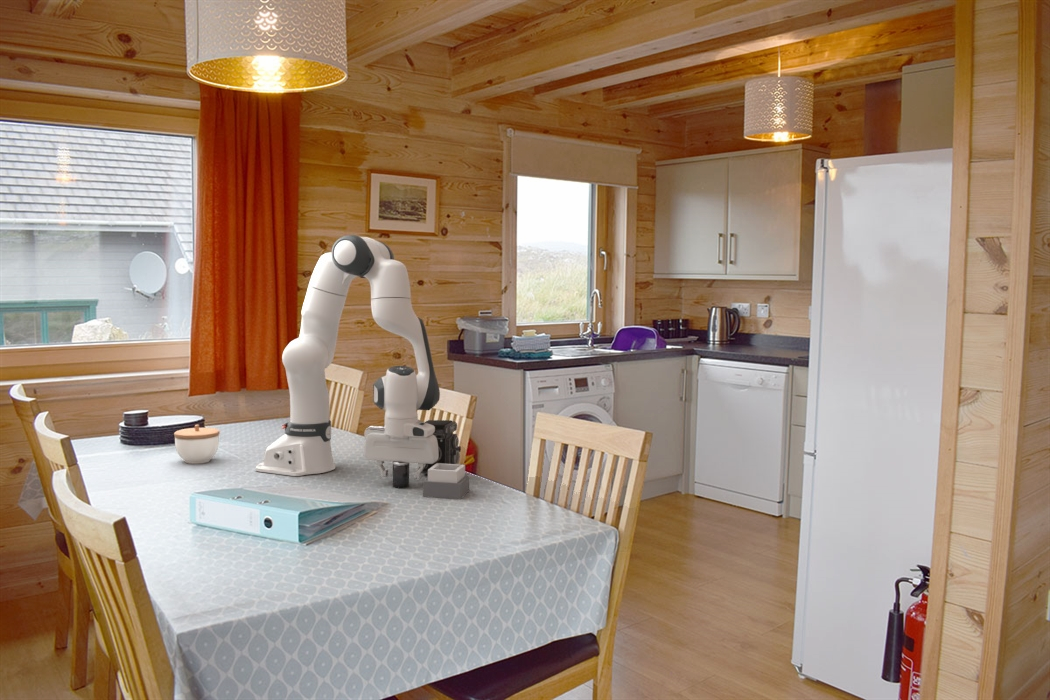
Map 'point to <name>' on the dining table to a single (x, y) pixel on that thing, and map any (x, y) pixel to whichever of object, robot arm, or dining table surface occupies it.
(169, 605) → the dining table surface
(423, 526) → the dining table surface
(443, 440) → the camera
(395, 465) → the lens
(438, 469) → the mount block
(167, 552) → the dining table surface
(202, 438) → the lidded bowl
